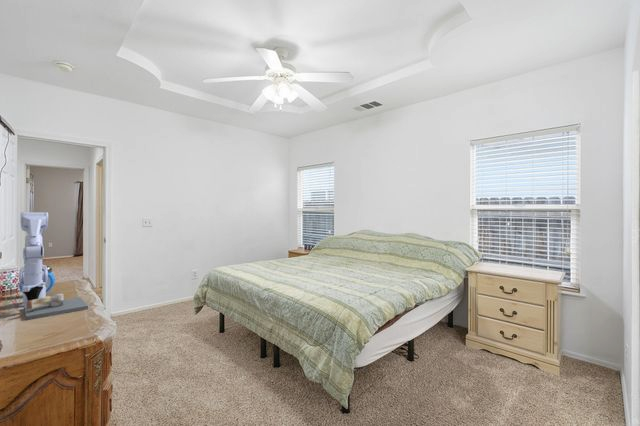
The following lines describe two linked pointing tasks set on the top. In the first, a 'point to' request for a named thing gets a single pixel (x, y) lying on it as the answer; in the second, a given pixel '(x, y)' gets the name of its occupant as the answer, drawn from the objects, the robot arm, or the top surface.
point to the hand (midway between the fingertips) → (32, 304)
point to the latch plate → (56, 308)
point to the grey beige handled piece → (46, 301)
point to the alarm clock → (49, 282)
